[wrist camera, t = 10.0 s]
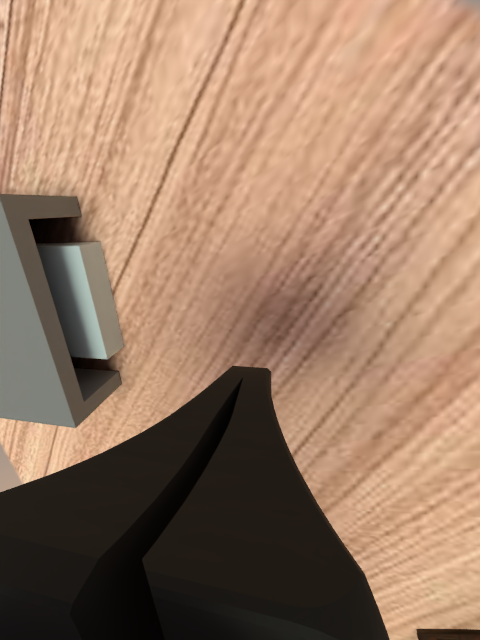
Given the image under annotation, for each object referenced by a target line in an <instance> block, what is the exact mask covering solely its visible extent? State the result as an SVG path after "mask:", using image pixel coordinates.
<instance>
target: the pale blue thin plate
mask: <svg viewBox="0 0 480 640" xmlns="http://www.w3.org/2000/svg"><path fill="white" fill-rule="evenodd" d="M36 246H37V249H38V253H39V256H40V259H41V262H42V266H43V269H44V272H45V276H46V279H47V282H48V285H49V289H50V292H51V295H52V299H53V302H54V305H55V308H56V312H57V315H58V318H59V322H60V325H61V328H62V331H63V335H64V338H65V341H66V345H67V348H68V351H69V354H70V357H80V358H94V359H109V358H110V357H111V356H113V355H114V354H115V353H116V352H118V351H119V350H120V349H122V348H123V347H124V344H123V339H122V335H121V330H120V326H119V321H118V317H117V312H116V308H115V303H114V299H113V294H112V290H111V285H110V281H109V276H108V272H107V267H106V263H105V258H104V254H103V249H102V245H101V242H76V243H45V244H36Z"/></svg>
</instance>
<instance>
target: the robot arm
mask: <svg viewBox="0 0 480 640" xmlns="http://www.w3.org/2000/svg"><path fill="white" fill-rule="evenodd" d="M0 640H389V636H388V634H387V631H386V628H385V625H384V623H383V620H382V617H381V614H380V612H379V609H378V606H377V604H376V601H375V599H374V596H373V594H372V591H371V589H370V586H369V584H368V581H367V579H366V576H365V574H364V572H363V571H362V570H361V568H360V567H359V565H358V564H357V562H356V561H355V560H354V558H353V557H352V555H351V554H350V553H349V551H348V550H347V548H346V547H345V545H344V544H343V542H342V541H341V539H340V538H339V536H338V535H337V533H336V532H335V530H334V529H333V528H332V526H331V524H330V523H329V521H328V520H327V518H326V516H325V515H324V513H323V512H322V510H321V508H320V507H319V505H318V504H317V502H316V500H315V498H314V497H313V495H312V493H311V491H310V489H309V488H308V486H307V484H306V482H305V480H304V479H303V477H302V475H301V473H300V471H299V470H298V468H297V465H296V463H295V461H294V459H293V457H292V455H291V453H290V451H289V448H288V446H287V444H286V441H285V439H284V436H283V434H282V431H281V428H280V426H279V423H278V420H277V417H276V413H275V410H274V406H273V401H272V397H271V371H270V370H269V369H268V368H255V367H240V366H232V367H231V368H230V369H228V370H227V371H226V372H225V373H224V374H223V375H221V376H220V377H219V378H218V379H217V380H216V381H214V382H213V383H212V384H211V385H210V386H208V387H207V388H206V389H205V390H203V391H202V392H201V393H200V394H199V395H197V396H196V397H195V398H193V399H192V400H191V401H189V402H188V403H186V404H185V405H184V406H182V407H181V408H180V409H178V410H177V411H176V412H174V413H173V414H171V415H170V416H168V417H167V418H165V419H164V420H162V421H160V422H159V423H157V424H155V425H154V426H152V427H150V428H149V429H147V430H145V431H144V432H142V433H140V434H138V435H136V436H134V437H132V438H130V439H129V440H127V441H125V442H123V443H121V444H119V445H117V446H115V447H113V448H111V449H109V450H107V451H105V452H103V453H101V454H98V455H96V456H94V457H92V458H89V459H87V460H85V461H83V462H80V463H78V464H76V465H73V466H71V467H68V468H66V469H63V470H61V471H58V472H56V473H53V474H51V475H48V476H45V477H43V478H40V479H37V480H34V481H31V482H28V483H26V484H23V485H20V486H18V487H15V488H12V489H9V490H6V491H3V492H0Z"/></svg>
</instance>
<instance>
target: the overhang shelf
mask: <svg viewBox="0 0 480 640" xmlns="http://www.w3.org/2000/svg"><path fill="white" fill-rule="evenodd" d="M78 216H81V213H80V209H79V204H78V200H77V197H68V196H40V195H11V194H0V418H5V419H12V420H20V421H27V422H35V423H42V424H50V425H57V426H65V427H72V428H76V427H77V426H78V425H79V424H80V423H82V422H83V421H84V420H85V419H86V418H87V417H88V416H89V415H90V414H91V413H92V412H93V411H94V410H95V409H96V408H97V407H98V406H99V405H100V404H101V403H102V402H103V401H104V400H105V399H106V398H107V397H108V396H109V395H111V394H112V393H113V392H114V391H115V390H116V389H117V388H118V387H119V386H120V385H121V380H120V375H119V371H106V370H94V369H81V368H74V367H73V364H72V361H71V358H70V354H69V351H68V348H67V345H66V341H65V338H64V335H63V331H62V328H61V325H60V322H59V318H58V315H57V312H56V308H55V305H54V302H53V299H52V295H51V292H50V289H49V285H48V282H47V279H46V276H45V272H44V269H43V266H42V262H41V259H40V256H39V253H38V249H37V246H36V243H35V240H34V236H33V233H32V230H31V226H30V223H29V220H28V219H43V218H61V217H78Z"/></svg>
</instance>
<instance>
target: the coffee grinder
mask: <svg viewBox="0 0 480 640" xmlns="http://www.w3.org/2000/svg"><path fill="white" fill-rule="evenodd" d="M417 636H418V639H419V640H480V630H468V629H454V630H417Z"/></svg>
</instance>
